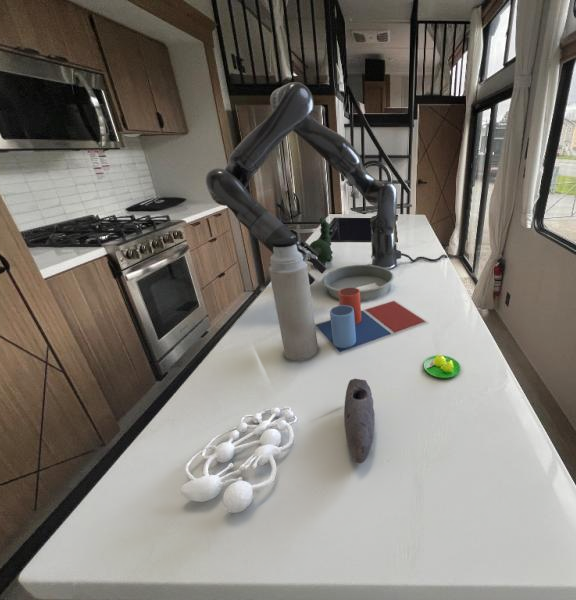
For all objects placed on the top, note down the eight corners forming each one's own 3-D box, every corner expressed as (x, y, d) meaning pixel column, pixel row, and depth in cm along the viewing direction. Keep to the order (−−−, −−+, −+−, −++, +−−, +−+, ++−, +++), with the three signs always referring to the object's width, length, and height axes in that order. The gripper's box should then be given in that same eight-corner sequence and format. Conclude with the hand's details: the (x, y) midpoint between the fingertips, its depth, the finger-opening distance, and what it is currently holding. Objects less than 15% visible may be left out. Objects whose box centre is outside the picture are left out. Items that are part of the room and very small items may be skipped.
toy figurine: (317, 257, 151) (305, 272, 127) (314, 216, 144) (300, 223, 121) (338, 257, 151) (329, 272, 127) (335, 215, 144) (325, 222, 121)
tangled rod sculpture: (251, 409, 64) (246, 392, 62) (317, 418, 60) (313, 400, 58) (167, 502, 47) (156, 482, 45) (251, 524, 43) (242, 503, 41)
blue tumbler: (349, 333, 86) (347, 302, 82) (360, 343, 81) (358, 311, 77) (329, 340, 83) (326, 308, 79) (339, 350, 79) (336, 318, 75)
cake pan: (337, 274, 127) (336, 263, 125) (399, 277, 122) (399, 266, 120) (312, 301, 105) (310, 288, 103) (386, 306, 100) (386, 293, 98)
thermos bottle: (296, 340, 84) (279, 234, 72) (324, 345, 82) (310, 236, 69) (278, 358, 77) (255, 243, 65) (307, 364, 75) (289, 246, 63)
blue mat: (362, 311, 98) (362, 310, 98) (391, 334, 85) (391, 333, 85) (315, 326, 91) (315, 324, 90) (340, 353, 78) (339, 352, 78)
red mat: (393, 302, 103) (393, 300, 103) (425, 322, 91) (425, 321, 91) (365, 310, 98) (365, 309, 98) (394, 333, 86) (394, 332, 86)
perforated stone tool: (376, 472, 50) (374, 440, 47) (342, 474, 50) (338, 442, 47) (374, 402, 63) (373, 374, 60) (347, 403, 63) (344, 375, 60)
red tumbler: (355, 313, 96) (353, 285, 92) (365, 321, 91) (363, 292, 87) (337, 319, 93) (334, 290, 89) (346, 327, 89) (344, 297, 85)
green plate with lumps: (466, 367, 72) (468, 357, 71) (446, 385, 67) (447, 374, 66) (437, 353, 77) (438, 343, 76) (416, 368, 72) (416, 358, 71)
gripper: (266, 230, 77) (317, 277, 80) (292, 218, 90) (335, 259, 93) (251, 251, 81) (300, 295, 83) (278, 236, 93) (320, 275, 96)
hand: (319, 276), depth 88 cm, fingers open, 8 cm apart
